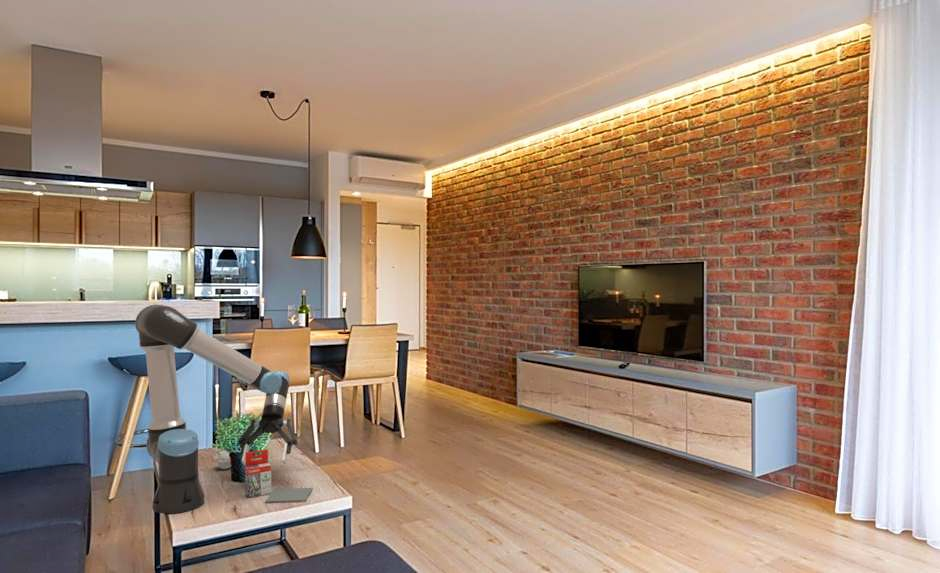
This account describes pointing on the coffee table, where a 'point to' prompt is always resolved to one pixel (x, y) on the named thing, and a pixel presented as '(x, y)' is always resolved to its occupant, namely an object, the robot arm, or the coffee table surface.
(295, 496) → the mat
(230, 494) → the coffee table surface
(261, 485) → the ink box
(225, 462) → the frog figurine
